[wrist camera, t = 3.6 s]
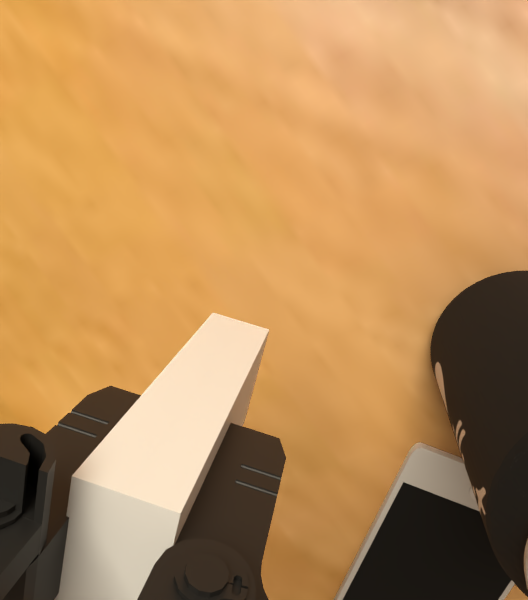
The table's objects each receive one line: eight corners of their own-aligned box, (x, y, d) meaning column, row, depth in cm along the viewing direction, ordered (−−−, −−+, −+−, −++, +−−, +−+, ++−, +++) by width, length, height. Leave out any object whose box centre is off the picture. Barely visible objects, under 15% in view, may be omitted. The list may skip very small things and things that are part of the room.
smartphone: (562, 491, 23) (570, 505, 22) (424, 698, 28) (426, 716, 27) (413, 434, 23) (415, 446, 22) (305, 648, 29) (303, 664, 28)
